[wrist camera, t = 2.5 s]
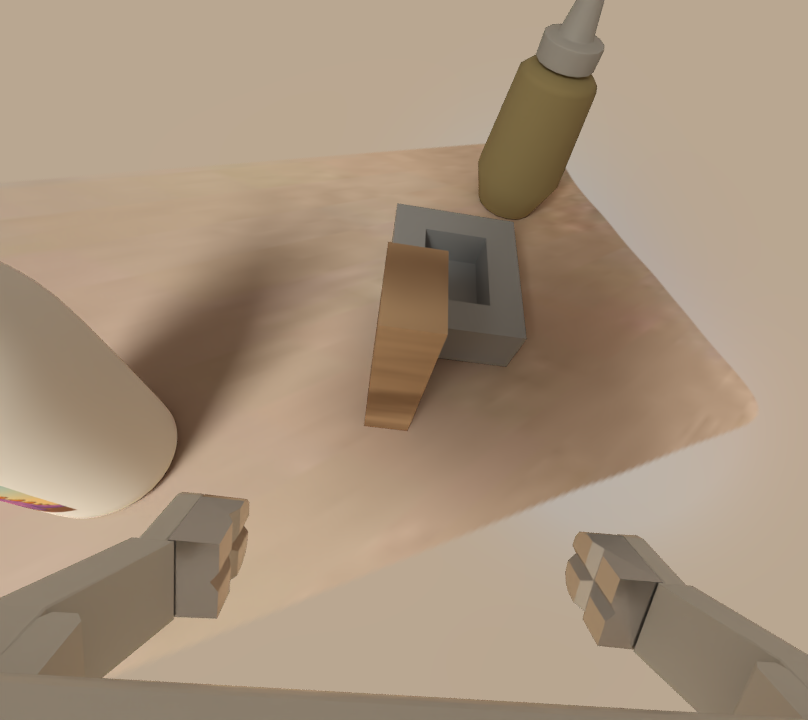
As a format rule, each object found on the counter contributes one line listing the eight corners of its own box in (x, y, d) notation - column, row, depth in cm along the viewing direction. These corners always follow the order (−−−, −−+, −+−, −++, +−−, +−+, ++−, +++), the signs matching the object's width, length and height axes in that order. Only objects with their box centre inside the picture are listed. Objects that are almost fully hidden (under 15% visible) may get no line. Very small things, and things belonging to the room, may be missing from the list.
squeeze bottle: (504, 168, 44) (591, -56, 29) (557, 212, 42) (685, -10, 26) (452, 191, 41) (519, -49, 26) (506, 239, 38) (617, 5, 23)
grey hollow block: (505, 366, 31) (526, 338, 28) (379, 350, 30) (384, 319, 27) (497, 256, 37) (513, 222, 34) (392, 239, 36) (397, 203, 33)
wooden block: (407, 430, 27) (447, 334, 17) (364, 425, 27) (378, 325, 17) (411, 367, 30) (448, 251, 19) (371, 362, 29) (388, 241, 19)
